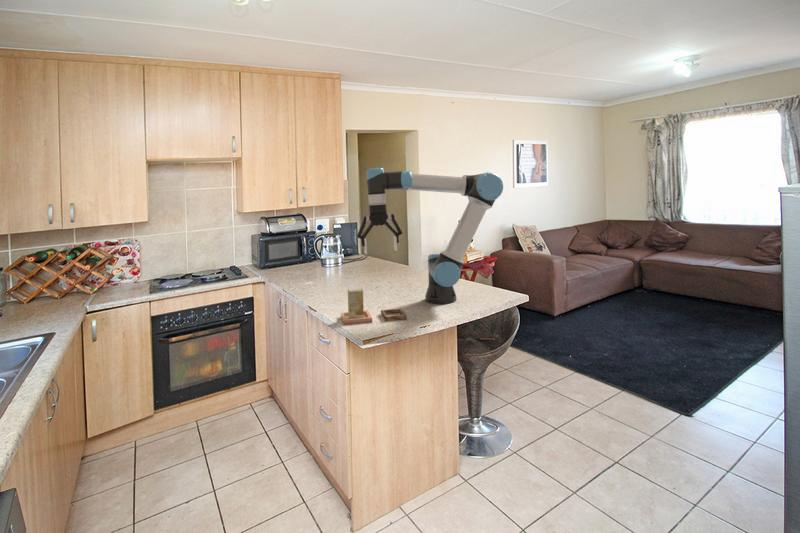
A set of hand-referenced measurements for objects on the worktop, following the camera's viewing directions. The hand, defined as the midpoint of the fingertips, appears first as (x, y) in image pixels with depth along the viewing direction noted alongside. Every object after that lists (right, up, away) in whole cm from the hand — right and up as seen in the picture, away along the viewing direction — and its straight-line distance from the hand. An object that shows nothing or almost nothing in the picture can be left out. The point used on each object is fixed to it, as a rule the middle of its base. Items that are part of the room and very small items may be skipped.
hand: (381, 252), depth 193 cm
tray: (-10, -29, -9) cm, 32 cm away
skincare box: (-10, -28, -9) cm, 31 cm away
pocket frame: (+6, -28, -6) cm, 29 cm away
